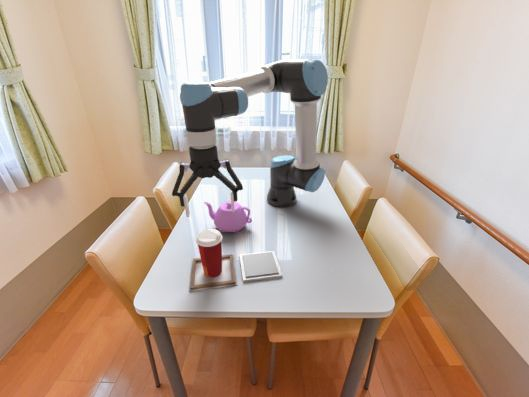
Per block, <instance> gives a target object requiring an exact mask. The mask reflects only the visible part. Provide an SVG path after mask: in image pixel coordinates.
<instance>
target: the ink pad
mask: <svg viewBox="0 0 529 397" xmlns="http://www.w3.org/2000/svg"><path fill="white" fill-rule="evenodd" d="M239 261H240V262H239V264H240V268H241V277H242V283H246V282H254V281H262V280H263V281H264V280H270V279H278V278H279V279H280V278H283V273H282V270H281V267H280V264H279V261H278V258H277V254H276V252H275V250H269V251H261V252H252V253H244V254H243V253H242V254H239Z"/></svg>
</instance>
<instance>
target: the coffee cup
mask: <svg viewBox="0 0 529 397" xmlns="http://www.w3.org/2000/svg"><path fill="white" fill-rule="evenodd" d="M222 241H223V235H222V232H221V231H220V230H219V229H218V230H217V229H215V228H207V229H203V230H201V231H200V232H199V233H198V234H197V236H196V238H195V242H196V244H197V246H198V251H199V255H200V257H199V258H201V261H202V266H203V270H204V274H205V276H207V277H209V278H214V277H217V276H219V275H220V274H221V272H222V255H223V248H222V247H223V244H222Z"/></svg>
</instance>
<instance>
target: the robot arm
mask: <svg viewBox="0 0 529 397" xmlns="http://www.w3.org/2000/svg"><path fill="white" fill-rule="evenodd" d="M328 82H329V76H328V69H327V67H326V66H325V64H324V63H323V62H322V61H321V60H319V59H312V58H307V59H305V58H304V59H303V58H302V59H301V58H300V59H281V60H278V61H275V62H271V63H269V64H265V65H261V66H258V67H257V69H256V70H253V71H250V72H246V73H242V74H237V75H234V76H233V75H232V76H231V77H226V78H222V79H218V80H215V81H209V82H206V81H195V82H194V81H193V82H183V84H181V85H180V94H179V99H180V103H181V105H182V106H181V107H182V110H183V111H182V112H183V118H184V125H185V133H186V139H187V145H188V152H189V159H190V162H189V163H185V162H183V161H182V162H179V173H178V175H177V178H176V181H175V184H174V186H173V189H172V193H171V195H172V197H178V198H179V204H180V206H181V207H184V210H185V214H186V215H185V216H186V218H189V217H190V213H191V212H190V205H189V199H188V194H187V192H188V190H189V189H190V188H191V187H192V185H193V184H194V183H195V181H196V180H197V179H198V178H200V179H205V178H209V179H211V178H213V177H215V178H216V179H217V180H219V181H220V182H222V184H224V185H225V186H226V187H227V188H228V189H229V190H230V191H229V193H230V201H231V207H232V213H233V212H235V210H234V202H238V192H239V191H243V189H244V188H243V183H242V182H241V180H240V179H239V177H238V175H237V174H236V173H235V171H234V170H233V168H232V166H231V163H230V159H228V158H225V159H224V160H221V161H220V159H219V154H218V145H217V132H216V120H219V119H220V120H221V119H225V118H230V117H237V116H239V115H242V114H245V113H246V111H247V109H248V108H249V98H248V97H250V96H254V95H257V94H260V93H264V94H269V93H275V92H276V93H286V94H289V95H290V97H289V98H290V102H291V103H293V105H294V123H295V125H294V126H295V151H296V152H295V153H296V158H295V156H293V155H290V154H289V155H288V154H287V155H279V156H275V157H273V158H271V160H270V167H269V168H270V169H269V170H270V176H269V177H270V181H269V183H270V185H269V186H270V187H269V189H268V192H267V194H266V202H267V204H269V205H271V206H273V207H276V208H287V207H288V208H289V207H292V206H293V205H295V204H296V203H297V194H296V191H295V188H296V189H299V190H302V191H305V192H310V193H315V192H317V191H318V190H319V189H320V188H321V186H322V184H323V182H324V180H325V178H326V177H325V175H326V170H325V169H324V168H323V167H320V165H321V161H320V160H319V159H318V158H317V131H318V130H317V128H318V127H317V125H318V124H317V123H318V121H317V119H318V116H317V115H318V113H317V112H318V102H319V101H320V100H321V99H322V96H323V95H324V94H325V92H326V90H327V87H328V84H329V83H328ZM221 167H223V169H225V170H226V171H227V173H228V175H229V176H230V178H231V179H232V181H233V182H234V183H233V182H232V181H231V180H229V179H228V177H227V176H226V175H224V174H223V173H222V172H221V170H220V168H221ZM188 169H190V170H191V171H192V173H191V176H190V177H188V180H186V182H185V183H184V185H183V186H182V187H181V189H180V186H181V184H182V181H183V178H184V176H185V172H187V171H188ZM179 189H180V190H179Z"/></svg>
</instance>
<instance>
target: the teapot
mask: <svg viewBox="0 0 529 397" xmlns="http://www.w3.org/2000/svg"><path fill="white" fill-rule="evenodd" d="M203 204H205V205H206V206H207V208H208V215H209V217H210V218H211V220H213V223H214V226H215V227H216V228H217V229H218V230H219V232H220V233H237V234H238V233H240V231H241V230H242V229H243V228H244V227H245V226H246V225H247V224H251V223H252V221H253V220H252V217H250V215H251V209H250V208H249V207H247V206H242V205H241V204H240V203H238V201H236V202H234V210H235V212H233V213H232V207H231V200H228V201H225V202H222V203H221V204H220V205H219V206H218V207H217V210H216V211H214V210H213V206H212V204H211V203H210V202H208V201H207V202H206V201H204V202H203ZM246 211H247V212H246Z"/></svg>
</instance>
